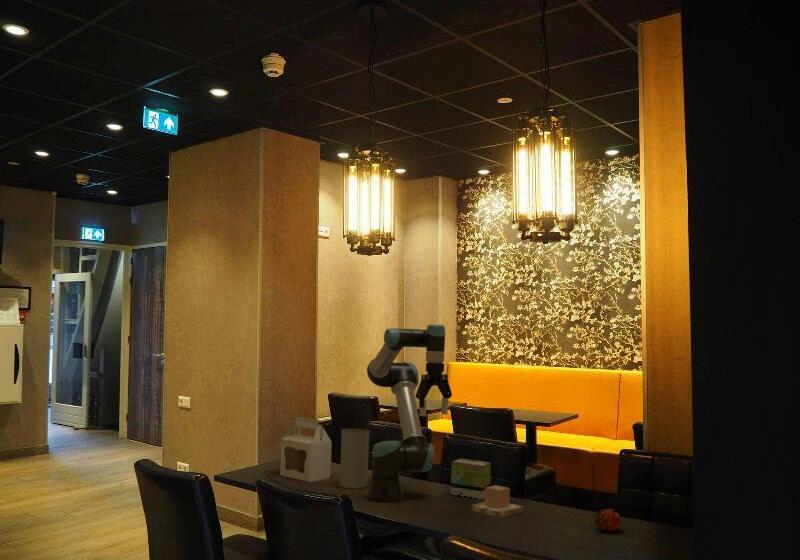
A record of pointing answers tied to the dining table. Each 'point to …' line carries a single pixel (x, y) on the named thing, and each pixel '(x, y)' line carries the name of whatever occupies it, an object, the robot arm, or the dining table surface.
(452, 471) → the tea box
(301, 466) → the gable box
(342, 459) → the cylinder vase
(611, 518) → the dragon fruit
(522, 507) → the birch board
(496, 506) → the terracotta cube
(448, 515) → the dining table surface
